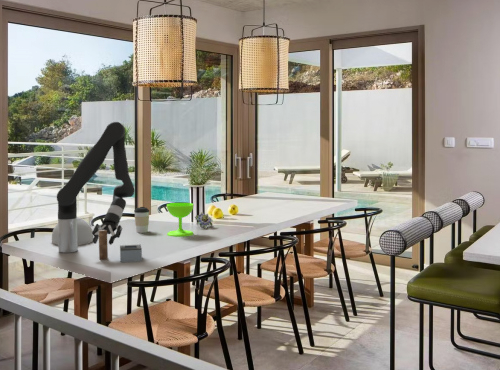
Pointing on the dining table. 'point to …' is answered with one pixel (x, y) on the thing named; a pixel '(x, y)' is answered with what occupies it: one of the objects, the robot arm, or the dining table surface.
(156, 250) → the dining table surface
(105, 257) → the walnut peg
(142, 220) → the coffee cup
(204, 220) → the passion flower
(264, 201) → the dining table surface
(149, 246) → the dining table surface
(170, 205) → the wineglass
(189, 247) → the dining table surface
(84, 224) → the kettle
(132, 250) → the collar
